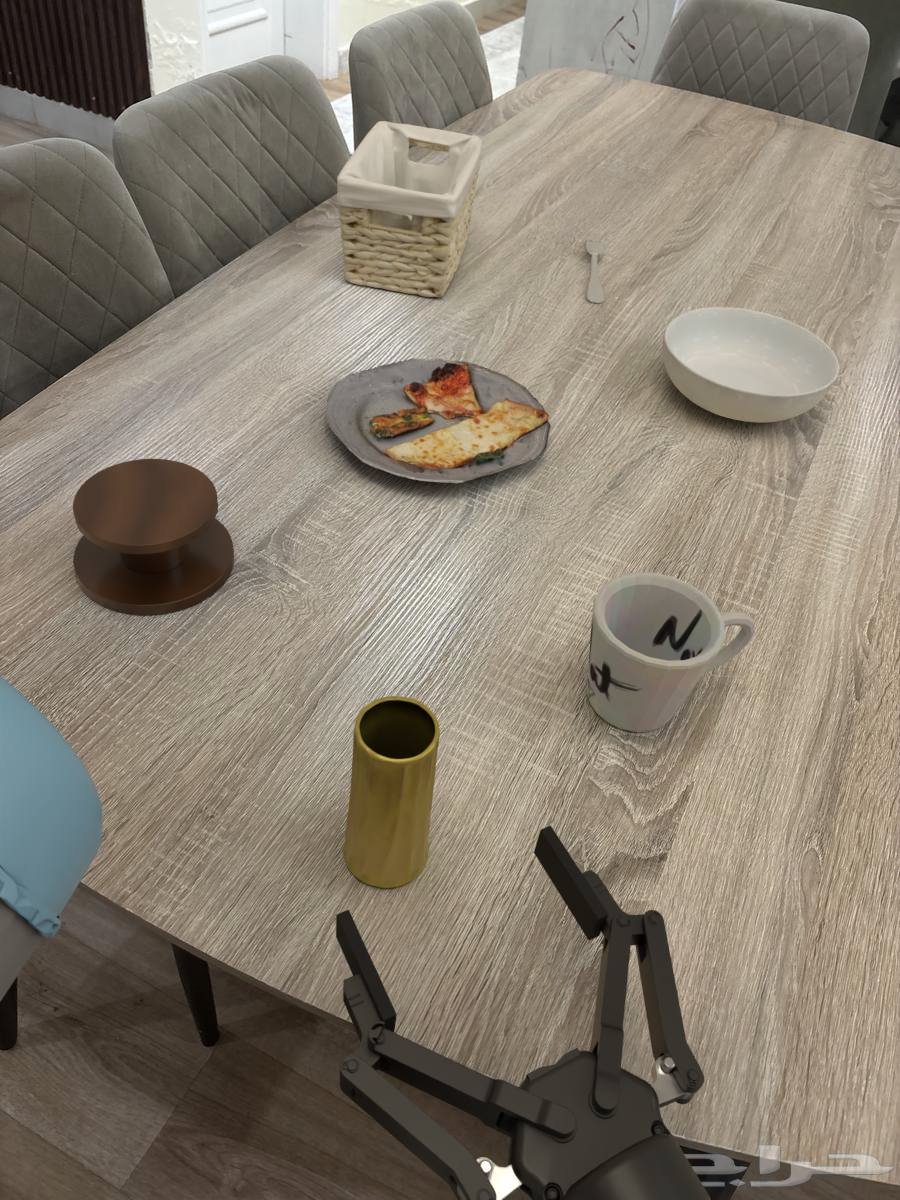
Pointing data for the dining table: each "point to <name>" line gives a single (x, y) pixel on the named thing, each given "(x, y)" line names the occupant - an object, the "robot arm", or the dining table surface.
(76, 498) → the stand
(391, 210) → the basket
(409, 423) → the food plate
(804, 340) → the serving bowl
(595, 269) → the fork
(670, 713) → the mug
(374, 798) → the vase
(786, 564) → the dining table surface
